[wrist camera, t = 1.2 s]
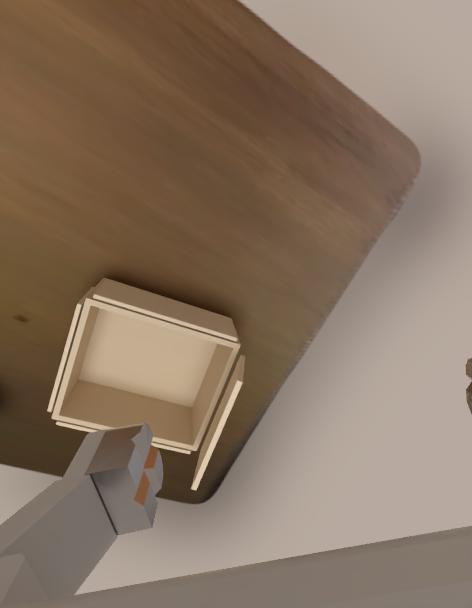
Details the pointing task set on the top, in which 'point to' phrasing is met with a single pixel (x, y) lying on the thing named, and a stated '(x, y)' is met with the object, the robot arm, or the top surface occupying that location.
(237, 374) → the flap
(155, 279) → the top surface
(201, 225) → the top surface
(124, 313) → the carton
